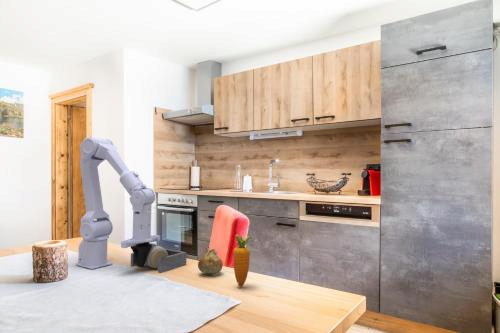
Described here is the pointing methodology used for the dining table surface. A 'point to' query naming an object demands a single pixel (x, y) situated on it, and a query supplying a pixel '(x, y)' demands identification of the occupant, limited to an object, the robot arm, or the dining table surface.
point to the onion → (210, 263)
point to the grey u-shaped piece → (167, 260)
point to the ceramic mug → (155, 256)
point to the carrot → (241, 260)
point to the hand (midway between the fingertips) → (140, 266)
